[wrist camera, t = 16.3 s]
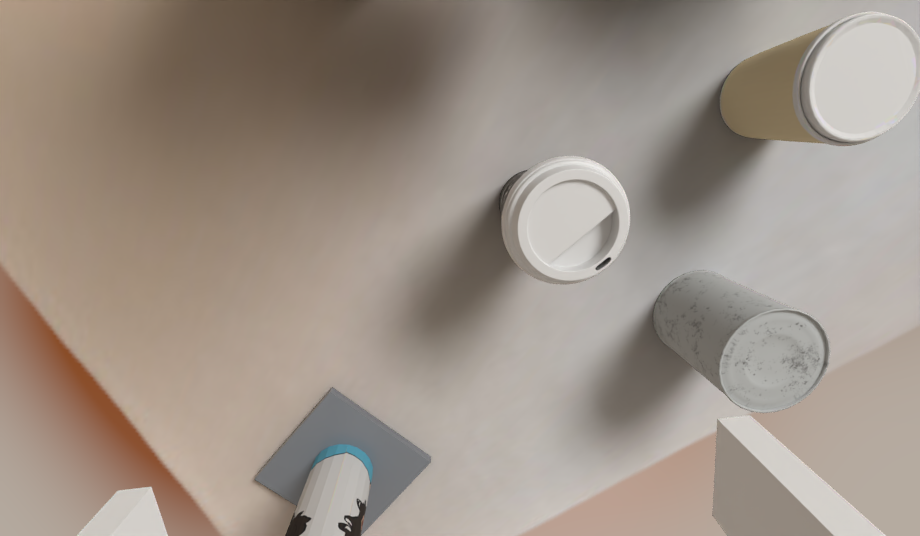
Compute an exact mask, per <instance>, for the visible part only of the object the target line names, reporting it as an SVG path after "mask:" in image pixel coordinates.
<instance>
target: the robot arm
mask: <svg viewBox="0 0 920 536" xmlns="http://www.w3.org/2000/svg"><path fill="white" fill-rule="evenodd" d="M715 457H716V458H715V476H714V495H713V517H714V518H715V519H716V521H717V522H718V524H719V525H720V526H721V528H722V529H723V531H724V532H725V533H726V535H727V536H886V535H884V533H882V532H881V531H880V530H879V529H878V528H877V527H876V526H874V525H873V524H872V523H871V522H870V521H869V520H868V519H867V518H865V517H864V516H863V515H862V514H861V513H860V512H859V511H858V510H856V509H855V508H854V507H853V506H852V505H851V504H850V503H848V502H847V501H846V500H845V499H844V498H843V497H842V496H841V495H839V494H838V493H837V492H836V491H835V490H834V489H833V488H831V487H830V486H829V485H828V484H827V483H826V482H825V481H824V480H823V479H821V478H820V477H819V476H818V475H817V474H816V473H815V472H813V471H812V470H811V469H810V468H809V467H808V466H807V465H806V464H804V463H803V462H802V461H801V460H800V459H799V458H798V457H797V456H795V455H794V454H793V453H792V452H791V451H790V450H789V449H787V448H786V447H785V446H784V445H783V444H782V443H781V442H780V441H778V440H777V439H776V438H775V437H774V436H773V435H772V434H771V433H769V432H768V431H767V430H766V429H765V428H764V427H763V426H761V425H760V424H759V423H758V422H757V421H756V420H754V418H752V417H751V416H750V415H747V416H738V417H730V418H722V419H717V438H716V456H715ZM77 536H168V534H167V532H166V529H165V526H164V523H163V520H162V517H161V514H160V511H159V508H158V505H157V503H156V499H155V496H154V493H153V490H152V487H145V488H137V489H128V490H120V491H117V492H116V493H115V494H114V495H113V496H112V497H111V499H110V500H109V501H108V502H107V503H106V504H105V505H104V506H103V507H102V509H100V511H99V512H98V513H97V514H96V515H95V516H94V517H93V518H92V519H91V521H90V522H89V523H88V524H87V525H86V526H85V527H84V528H83V529H82V530H81V531H80V533H79V534H78V535H77Z"/></svg>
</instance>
